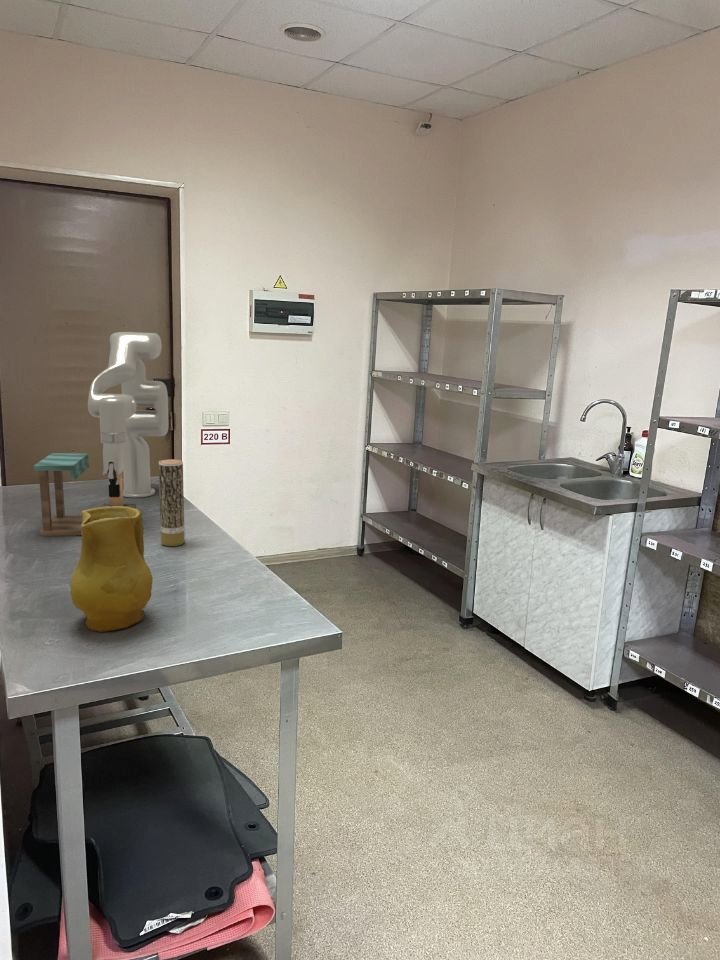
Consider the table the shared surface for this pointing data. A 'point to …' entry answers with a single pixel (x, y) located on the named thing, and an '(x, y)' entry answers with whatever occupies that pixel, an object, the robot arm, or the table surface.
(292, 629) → the table surface
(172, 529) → the paper tube
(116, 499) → the peg
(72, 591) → the pitcher
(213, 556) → the table surface
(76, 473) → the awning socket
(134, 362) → the robot arm
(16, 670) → the table surface
